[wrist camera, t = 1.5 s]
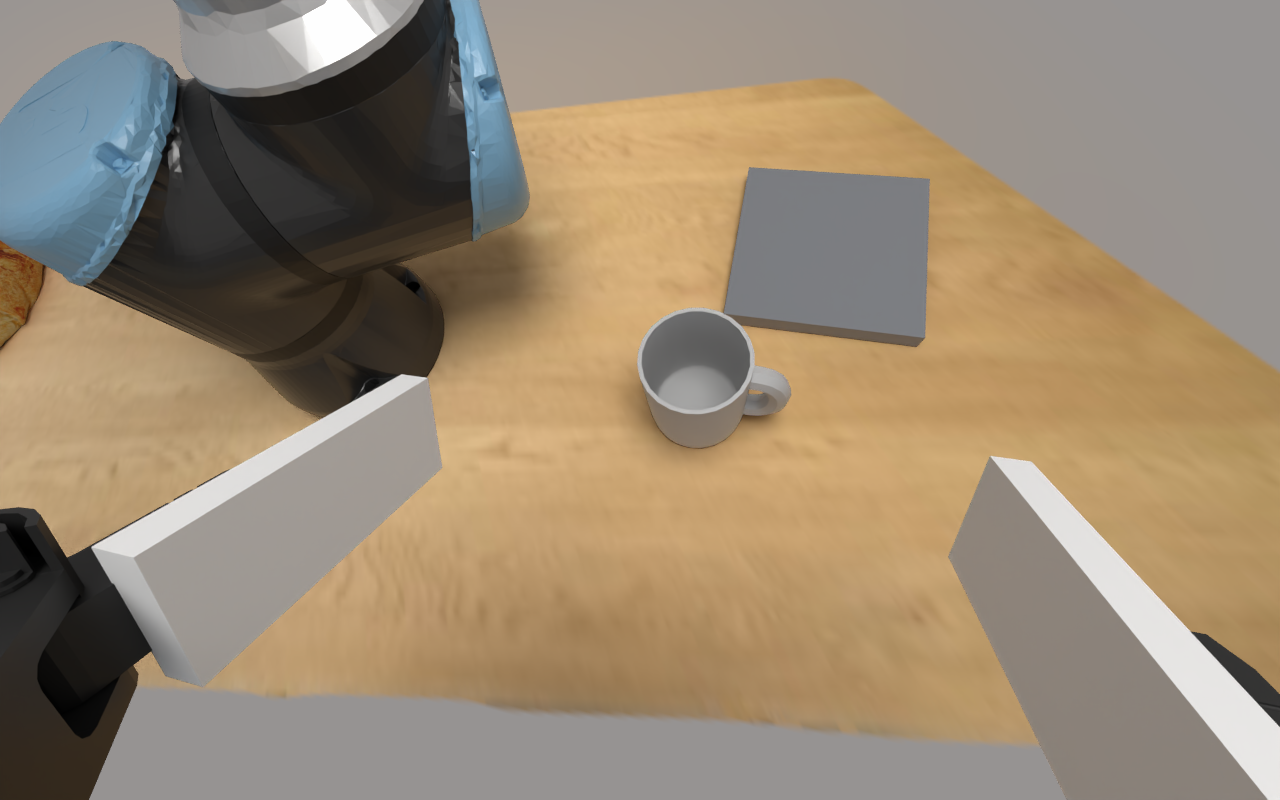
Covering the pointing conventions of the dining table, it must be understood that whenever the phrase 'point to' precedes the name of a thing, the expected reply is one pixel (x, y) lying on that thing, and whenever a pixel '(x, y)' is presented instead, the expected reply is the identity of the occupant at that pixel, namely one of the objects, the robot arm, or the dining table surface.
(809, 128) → the dining table surface
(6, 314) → the croissant
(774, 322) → the slate tile
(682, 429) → the cup
